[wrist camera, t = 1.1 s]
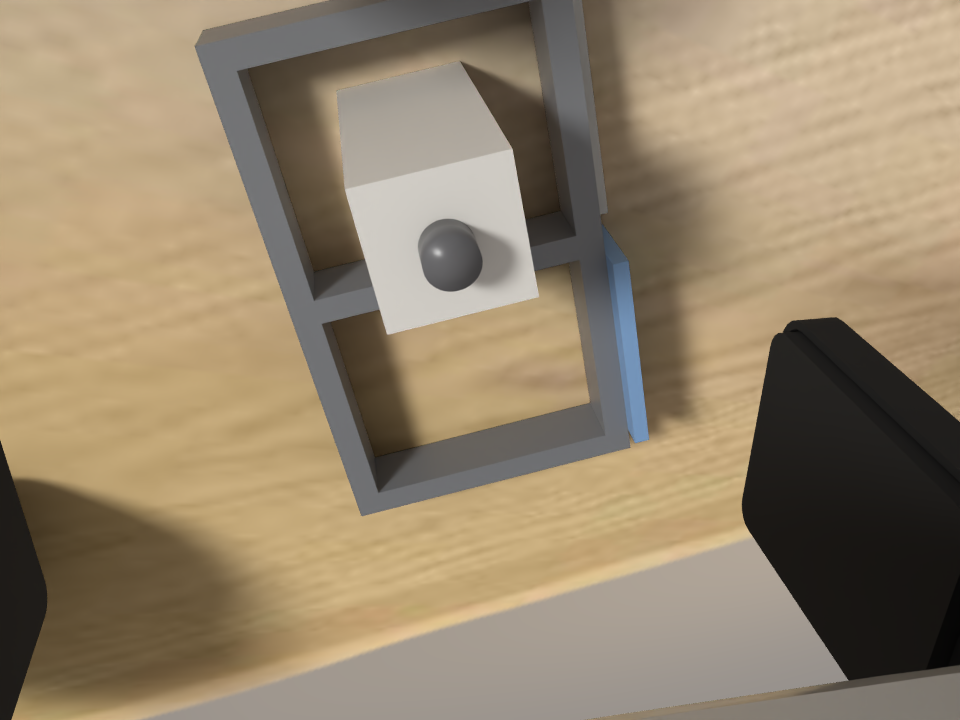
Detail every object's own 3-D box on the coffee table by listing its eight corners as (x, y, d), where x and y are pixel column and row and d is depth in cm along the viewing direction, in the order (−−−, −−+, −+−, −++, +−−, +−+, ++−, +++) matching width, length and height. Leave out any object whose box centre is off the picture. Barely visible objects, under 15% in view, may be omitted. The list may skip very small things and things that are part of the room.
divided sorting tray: (566, -56, 30) (593, -43, 28) (626, 411, 41) (651, 457, 38) (203, 30, 30) (190, 53, 27) (358, 479, 41) (362, 531, 38)
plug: (459, 60, 32) (521, 163, 22) (483, 178, 34) (548, 316, 25) (336, 90, 32) (346, 206, 22) (368, 206, 34) (390, 356, 25)
